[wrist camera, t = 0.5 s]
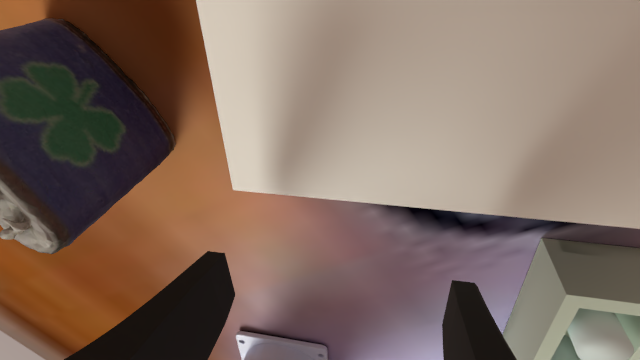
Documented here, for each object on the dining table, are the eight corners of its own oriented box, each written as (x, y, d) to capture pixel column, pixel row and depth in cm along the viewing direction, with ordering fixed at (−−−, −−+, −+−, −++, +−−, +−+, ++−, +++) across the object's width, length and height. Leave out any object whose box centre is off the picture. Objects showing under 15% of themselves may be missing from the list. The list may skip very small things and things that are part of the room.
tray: (571, 363, 26) (599, 434, 22) (495, 351, 26) (509, 417, 23) (642, 248, 20) (697, 320, 16) (541, 238, 20) (570, 303, 17)
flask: (37, 33, 20) (-252, 108, 11) (64, 1, 19) (-241, 56, 10) (159, 162, 23) (9, 297, 15) (188, 142, 22) (43, 277, 13)
